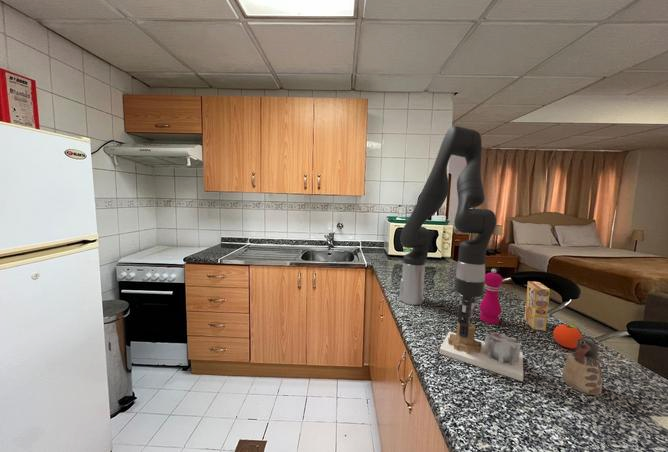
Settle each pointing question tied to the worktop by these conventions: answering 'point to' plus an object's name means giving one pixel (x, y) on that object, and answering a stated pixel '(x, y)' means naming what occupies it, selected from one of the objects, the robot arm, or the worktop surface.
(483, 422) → the worktop surface
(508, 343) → the sun gear
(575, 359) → the figurine
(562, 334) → the clementine
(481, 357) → the carrier plate
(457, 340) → the planet gear
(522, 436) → the worktop surface
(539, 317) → the candy box
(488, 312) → the pepper mill
